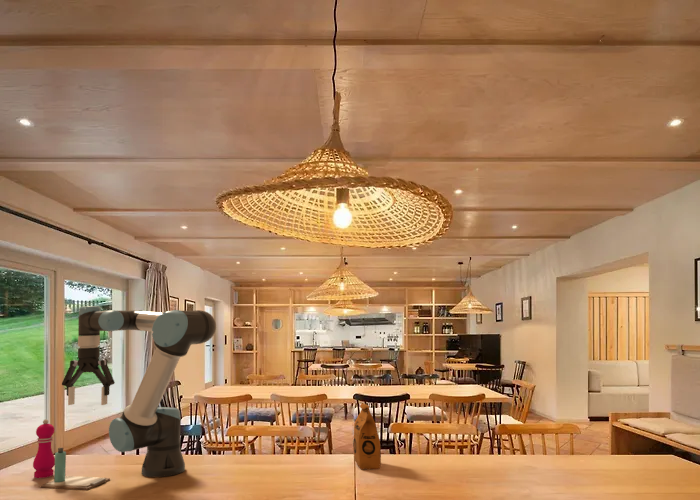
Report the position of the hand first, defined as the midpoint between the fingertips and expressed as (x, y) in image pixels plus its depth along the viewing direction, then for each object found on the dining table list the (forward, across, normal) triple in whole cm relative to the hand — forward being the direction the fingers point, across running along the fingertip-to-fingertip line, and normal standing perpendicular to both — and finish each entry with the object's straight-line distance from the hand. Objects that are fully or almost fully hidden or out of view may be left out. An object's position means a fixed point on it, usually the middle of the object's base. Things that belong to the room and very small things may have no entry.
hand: (87, 404), depth 222 cm
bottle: (+23, 0, +16) cm, 28 cm away
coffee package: (+25, -102, -18) cm, 107 cm away
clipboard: (+24, -6, +15) cm, 29 cm away
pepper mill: (+24, +12, +7) cm, 28 cm away
